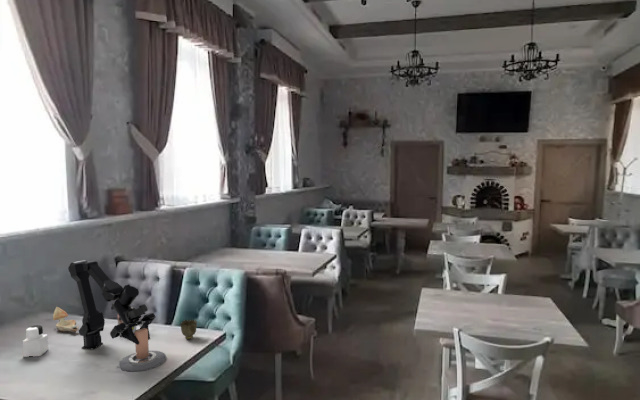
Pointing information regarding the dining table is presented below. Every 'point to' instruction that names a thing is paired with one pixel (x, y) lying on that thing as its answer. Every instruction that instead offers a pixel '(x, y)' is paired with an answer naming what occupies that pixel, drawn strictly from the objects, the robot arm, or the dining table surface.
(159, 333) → the dining table surface
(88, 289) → the robot arm
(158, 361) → the charcoal plate
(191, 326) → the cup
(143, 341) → the terracotta peg
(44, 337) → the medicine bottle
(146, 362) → the metal collar
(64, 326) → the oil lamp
